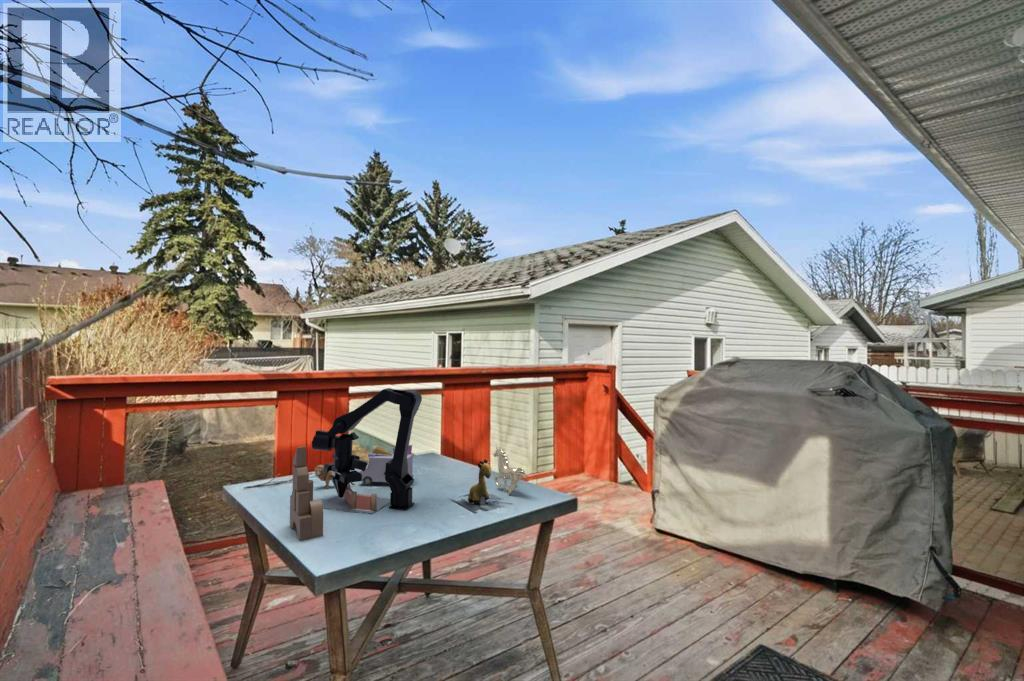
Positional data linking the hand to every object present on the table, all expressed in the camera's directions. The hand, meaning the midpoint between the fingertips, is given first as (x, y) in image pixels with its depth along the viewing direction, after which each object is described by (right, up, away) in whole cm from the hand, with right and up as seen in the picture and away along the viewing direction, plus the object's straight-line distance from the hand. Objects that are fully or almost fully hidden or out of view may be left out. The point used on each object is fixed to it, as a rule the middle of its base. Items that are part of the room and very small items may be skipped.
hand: (341, 497), depth 170 cm
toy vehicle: (+10, -3, +24) cm, 26 cm away
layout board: (+6, -2, 0) cm, 6 cm away
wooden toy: (-2, -2, -23) cm, 24 cm away
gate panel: (+3, -1, 0) cm, 3 cm away
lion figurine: (-9, -2, +17) cm, 20 cm away
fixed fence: (+10, -2, -6) cm, 12 cm away
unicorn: (+58, -3, +14) cm, 60 cm away
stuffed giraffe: (+48, -3, +4) cm, 48 cm away
